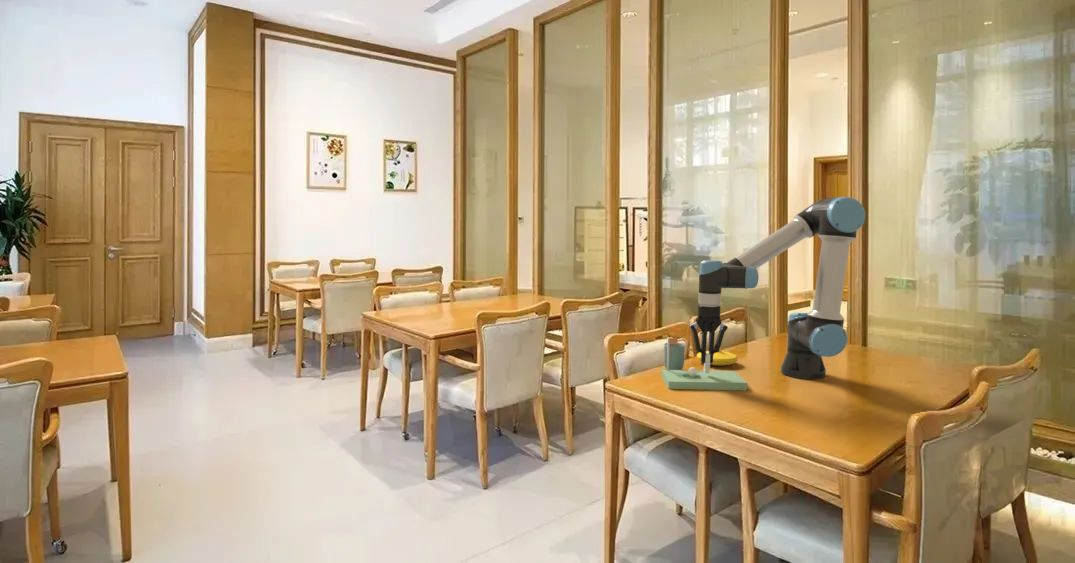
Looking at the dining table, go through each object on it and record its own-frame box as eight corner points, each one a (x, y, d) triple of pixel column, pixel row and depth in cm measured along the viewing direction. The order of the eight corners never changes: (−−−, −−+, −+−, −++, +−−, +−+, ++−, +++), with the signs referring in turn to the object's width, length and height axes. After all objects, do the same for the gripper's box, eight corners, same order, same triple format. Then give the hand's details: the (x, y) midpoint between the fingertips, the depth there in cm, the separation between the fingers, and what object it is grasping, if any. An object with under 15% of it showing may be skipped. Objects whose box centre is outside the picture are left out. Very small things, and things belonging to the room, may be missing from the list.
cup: (684, 373, 223) (685, 347, 221) (663, 372, 224) (664, 346, 223) (684, 368, 230) (684, 342, 229) (663, 367, 232) (664, 342, 231)
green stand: (734, 377, 217) (735, 338, 216) (746, 390, 201) (748, 347, 200) (661, 376, 218) (662, 337, 217) (668, 388, 203) (669, 346, 201)
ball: (697, 373, 211) (695, 365, 211) (699, 376, 208) (697, 367, 208) (688, 375, 211) (686, 367, 211) (690, 378, 208) (687, 369, 208)
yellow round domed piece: (743, 369, 230) (744, 351, 229) (702, 368, 230) (702, 350, 230) (730, 359, 246) (731, 342, 245) (692, 359, 246) (692, 342, 245)
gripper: (725, 303, 210) (722, 369, 213) (688, 303, 211) (685, 368, 213) (731, 307, 203) (728, 375, 205) (692, 306, 204) (689, 374, 206)
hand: (706, 372), depth 209 cm, fingers closed
